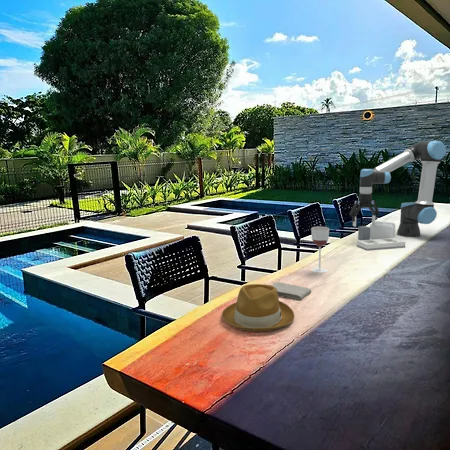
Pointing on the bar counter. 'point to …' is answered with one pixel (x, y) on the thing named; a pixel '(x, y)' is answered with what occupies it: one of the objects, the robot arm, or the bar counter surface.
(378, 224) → the cable organizer
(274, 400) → the bar counter surface
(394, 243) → the socket plate
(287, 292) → the washcloth
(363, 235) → the plug
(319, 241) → the wineglass
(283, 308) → the fedora
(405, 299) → the bar counter surface
